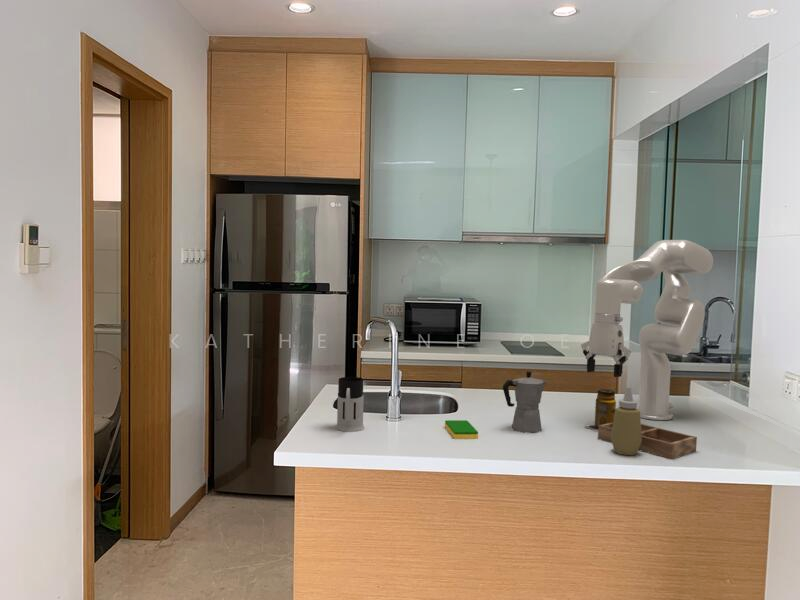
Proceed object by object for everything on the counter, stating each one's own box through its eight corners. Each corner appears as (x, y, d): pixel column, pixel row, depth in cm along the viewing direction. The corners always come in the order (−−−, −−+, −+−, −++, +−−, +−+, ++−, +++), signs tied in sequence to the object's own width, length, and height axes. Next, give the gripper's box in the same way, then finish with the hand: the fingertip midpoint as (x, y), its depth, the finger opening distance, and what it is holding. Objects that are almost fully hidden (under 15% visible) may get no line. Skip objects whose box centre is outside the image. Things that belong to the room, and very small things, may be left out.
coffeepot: (536, 423, 207) (539, 368, 206) (553, 431, 198) (555, 373, 197) (494, 427, 202) (496, 369, 200) (509, 435, 193) (511, 375, 192)
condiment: (620, 429, 203) (622, 391, 202) (602, 433, 198) (604, 394, 197) (601, 424, 209) (603, 387, 208) (584, 427, 204) (585, 390, 203)
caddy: (623, 432, 199) (623, 419, 199) (696, 451, 181) (696, 437, 181) (597, 438, 191) (598, 425, 191) (671, 459, 173) (672, 444, 173)
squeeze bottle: (605, 448, 182) (608, 384, 180) (633, 448, 182) (636, 385, 181) (617, 457, 174) (620, 390, 172) (646, 457, 174) (649, 391, 173)
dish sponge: (454, 440, 187) (454, 432, 187) (444, 427, 201) (444, 420, 201) (478, 440, 188) (478, 432, 188) (466, 427, 202) (467, 420, 202)
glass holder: (365, 424, 201) (366, 376, 200) (361, 437, 187) (362, 386, 186) (337, 423, 201) (338, 376, 200) (331, 436, 187) (332, 385, 186)
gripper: (638, 321, 196) (635, 377, 197) (590, 316, 210) (587, 369, 211) (624, 322, 192) (621, 379, 193) (576, 317, 205) (573, 370, 206)
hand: (603, 374), depth 202 cm, fingers open, 9 cm apart
